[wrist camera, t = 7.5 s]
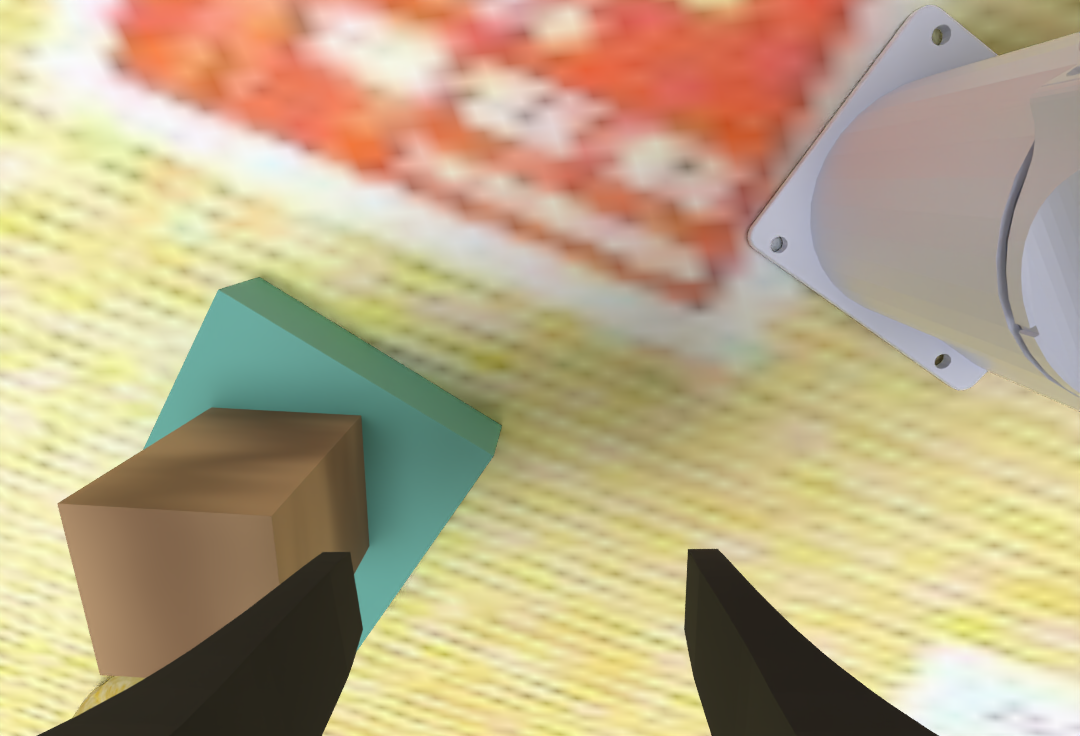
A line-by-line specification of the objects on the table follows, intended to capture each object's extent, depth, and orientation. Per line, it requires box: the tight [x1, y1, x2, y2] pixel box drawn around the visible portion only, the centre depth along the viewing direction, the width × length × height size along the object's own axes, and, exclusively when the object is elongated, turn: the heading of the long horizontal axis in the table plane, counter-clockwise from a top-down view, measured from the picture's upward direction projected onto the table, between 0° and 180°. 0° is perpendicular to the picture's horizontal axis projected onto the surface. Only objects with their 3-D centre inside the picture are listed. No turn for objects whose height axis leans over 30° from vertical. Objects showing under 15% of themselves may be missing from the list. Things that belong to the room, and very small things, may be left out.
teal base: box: [143, 277, 502, 652], centre depth 21 cm, size 10×10×3 cm
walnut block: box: [58, 407, 369, 678], centre depth 17 cm, size 5×5×6 cm
